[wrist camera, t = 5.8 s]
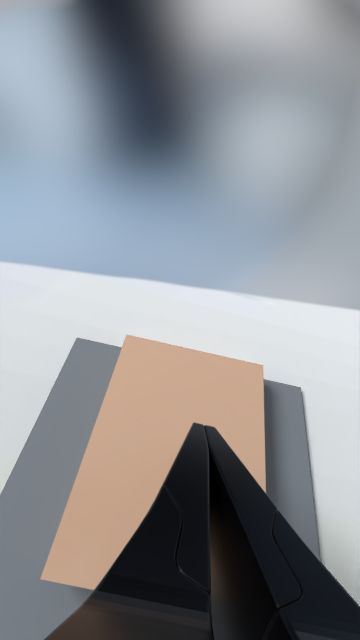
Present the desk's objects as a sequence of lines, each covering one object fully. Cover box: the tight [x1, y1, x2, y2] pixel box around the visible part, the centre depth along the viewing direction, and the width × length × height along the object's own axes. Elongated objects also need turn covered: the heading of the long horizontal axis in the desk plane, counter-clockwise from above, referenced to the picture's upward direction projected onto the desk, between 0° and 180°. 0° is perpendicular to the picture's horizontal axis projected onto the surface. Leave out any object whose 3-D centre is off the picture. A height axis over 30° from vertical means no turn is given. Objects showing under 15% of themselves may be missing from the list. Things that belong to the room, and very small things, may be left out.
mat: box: [0, 338, 320, 640], centre depth 13 cm, size 18×18×1 cm
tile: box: [40, 335, 266, 590], centre depth 14 cm, size 2×10×12 cm
